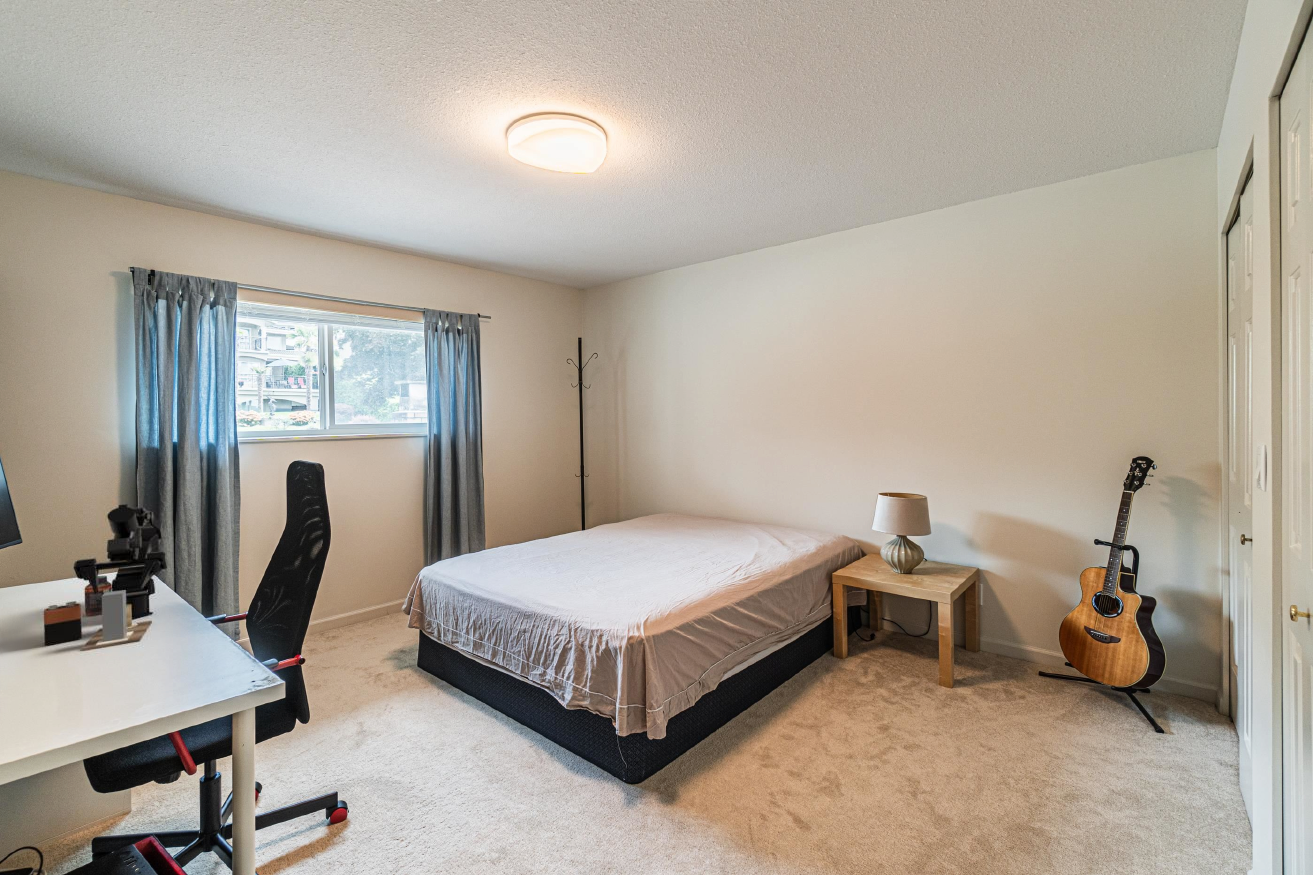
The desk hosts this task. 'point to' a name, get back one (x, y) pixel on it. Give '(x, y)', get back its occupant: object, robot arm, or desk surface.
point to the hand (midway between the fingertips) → (118, 590)
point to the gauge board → (133, 635)
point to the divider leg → (114, 615)
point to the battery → (62, 623)
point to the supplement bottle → (96, 596)
